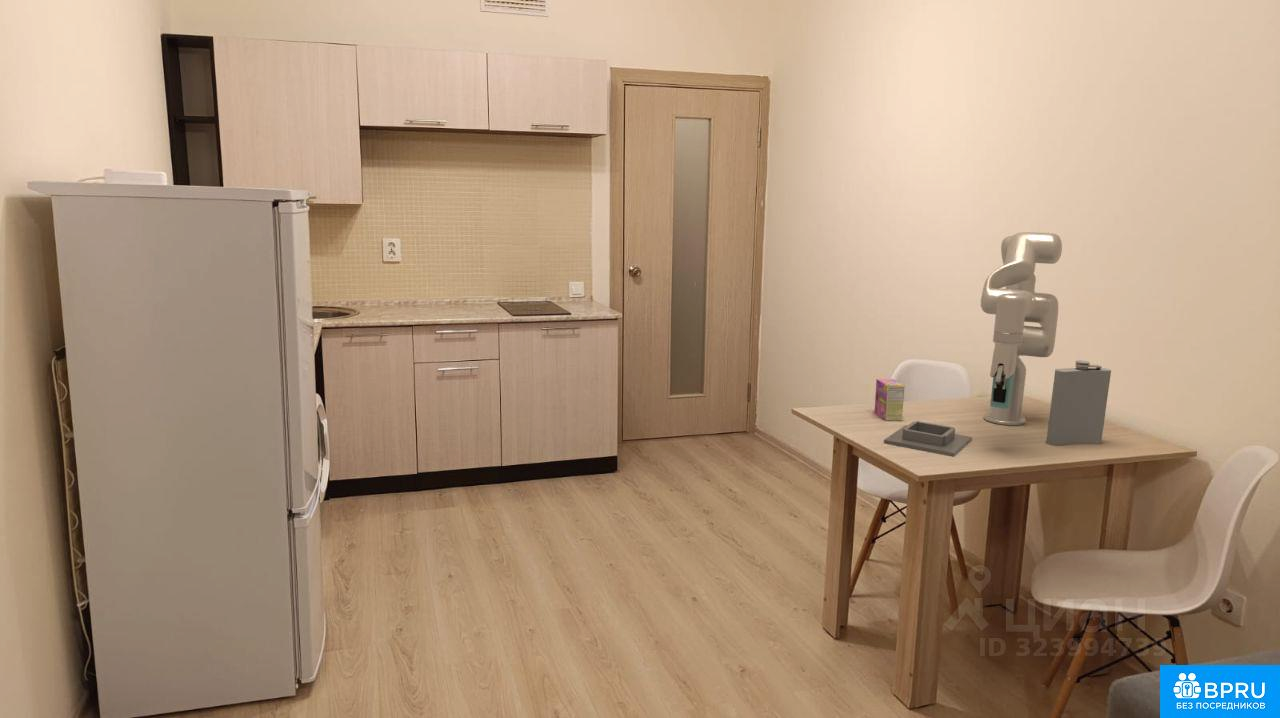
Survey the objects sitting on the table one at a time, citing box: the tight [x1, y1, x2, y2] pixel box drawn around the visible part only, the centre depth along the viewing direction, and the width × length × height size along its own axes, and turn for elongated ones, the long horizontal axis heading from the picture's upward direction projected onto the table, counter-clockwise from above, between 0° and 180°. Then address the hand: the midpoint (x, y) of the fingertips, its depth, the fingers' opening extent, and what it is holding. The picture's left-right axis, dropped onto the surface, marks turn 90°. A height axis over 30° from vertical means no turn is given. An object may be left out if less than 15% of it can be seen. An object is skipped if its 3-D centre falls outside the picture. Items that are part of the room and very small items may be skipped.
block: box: [989, 375, 1014, 409], centre depth 240 cm, size 4×4×9 cm
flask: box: [1045, 359, 1112, 447], centre depth 249 cm, size 17×5×25 cm, turn 101°
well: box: [883, 420, 973, 457], centre depth 249 cm, size 20×20×4 cm
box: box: [874, 378, 905, 422], centre depth 275 cm, size 10×6×12 cm, turn 5°
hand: (1000, 399), depth 240 cm, fingers closed on block, 4 cm apart
